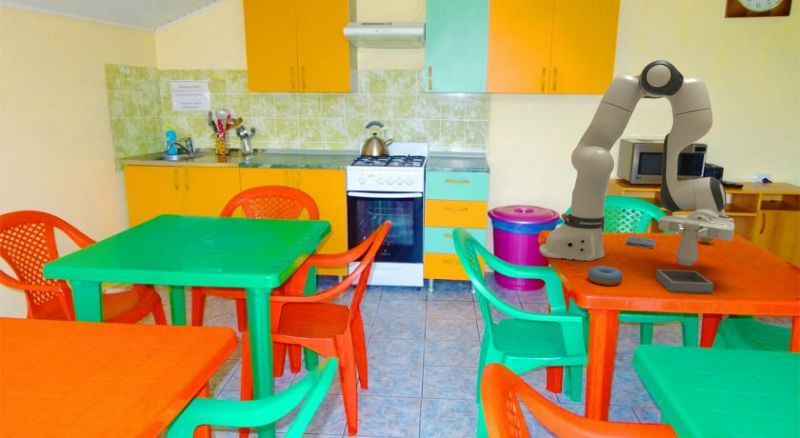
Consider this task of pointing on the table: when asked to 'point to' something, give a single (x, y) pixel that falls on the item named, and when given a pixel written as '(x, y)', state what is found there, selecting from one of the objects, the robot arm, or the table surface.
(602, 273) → the doughnut
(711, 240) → the lemon
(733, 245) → the table surface
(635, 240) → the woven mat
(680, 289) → the tray
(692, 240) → the salt shaker
